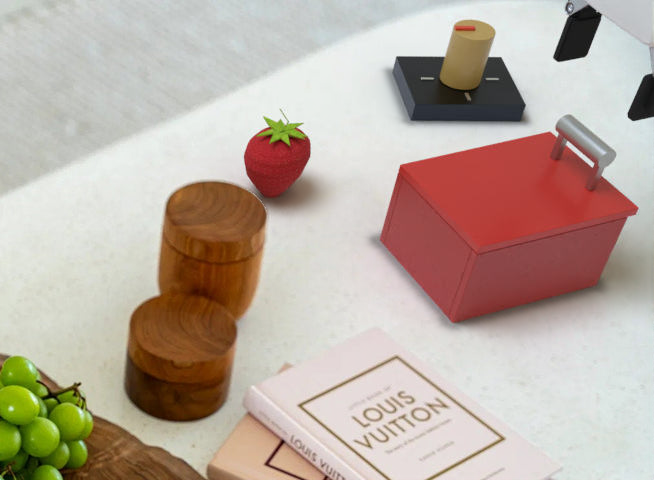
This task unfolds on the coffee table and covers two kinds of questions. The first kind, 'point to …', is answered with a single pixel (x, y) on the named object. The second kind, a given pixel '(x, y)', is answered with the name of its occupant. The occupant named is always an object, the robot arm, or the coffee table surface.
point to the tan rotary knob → (467, 54)
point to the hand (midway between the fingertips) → (605, 86)
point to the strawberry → (276, 156)
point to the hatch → (522, 187)
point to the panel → (456, 92)
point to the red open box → (489, 259)
